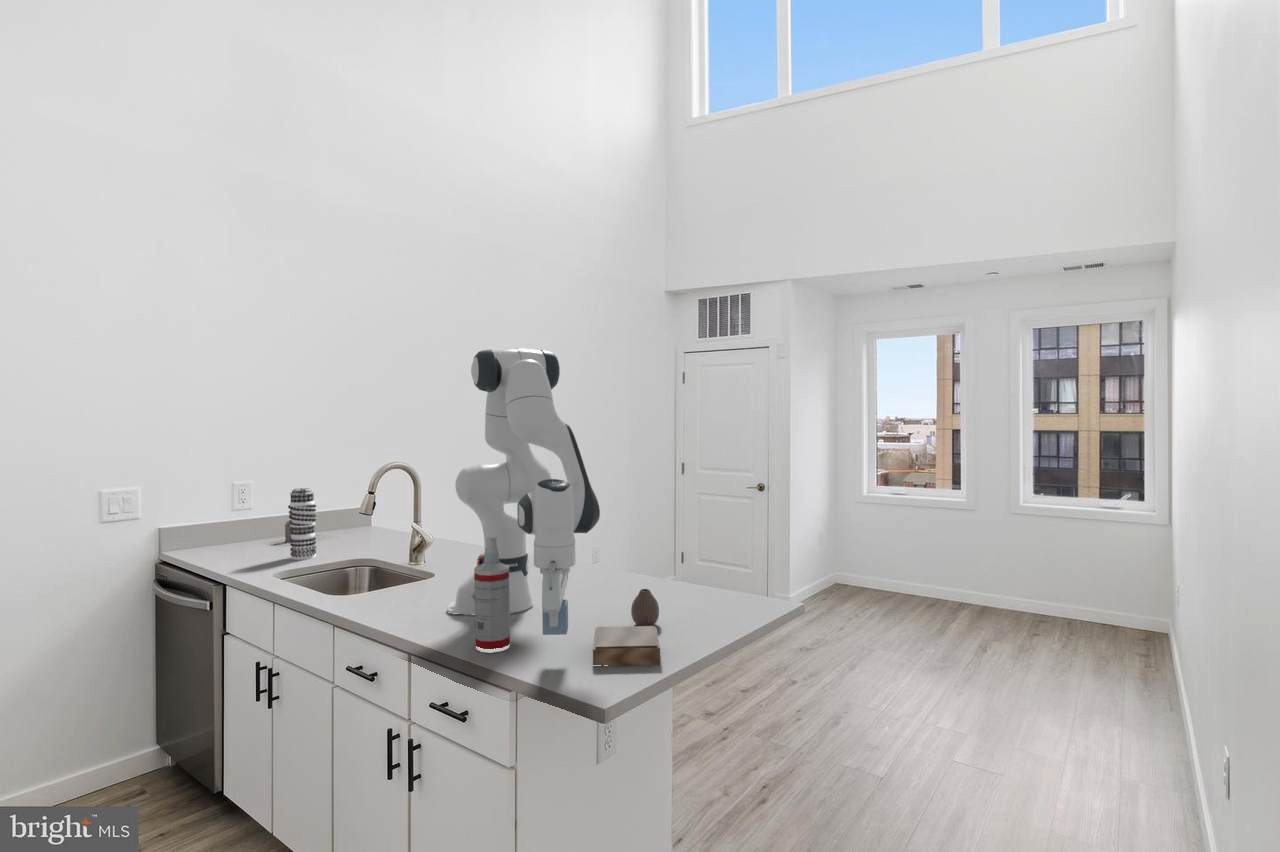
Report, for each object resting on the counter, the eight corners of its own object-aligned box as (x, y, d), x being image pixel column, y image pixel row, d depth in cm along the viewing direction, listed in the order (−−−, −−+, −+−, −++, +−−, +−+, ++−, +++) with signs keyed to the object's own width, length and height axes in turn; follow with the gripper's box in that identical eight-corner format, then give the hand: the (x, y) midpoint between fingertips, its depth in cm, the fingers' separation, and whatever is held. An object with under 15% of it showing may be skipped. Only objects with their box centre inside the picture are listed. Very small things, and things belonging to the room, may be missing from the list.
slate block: (542, 634, 147) (542, 606, 147) (545, 627, 152) (544, 599, 152) (566, 634, 148) (566, 606, 147) (568, 626, 153) (567, 599, 152)
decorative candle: (303, 560, 250) (301, 490, 249) (283, 559, 253) (281, 489, 252) (323, 555, 258) (321, 487, 257) (303, 553, 261) (302, 487, 261)
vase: (639, 631, 169) (639, 595, 169) (626, 623, 175) (626, 588, 175) (664, 626, 172) (664, 591, 172) (650, 619, 178) (650, 585, 178)
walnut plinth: (593, 666, 146) (592, 647, 146) (595, 643, 160) (595, 626, 160) (660, 665, 147) (660, 646, 147) (656, 642, 161) (656, 625, 161)
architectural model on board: (290, 544, 283) (289, 520, 283) (285, 543, 285) (284, 519, 284) (315, 539, 293) (314, 516, 292) (310, 538, 294) (310, 515, 294)
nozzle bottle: (478, 655, 154) (476, 541, 153) (472, 644, 160) (470, 536, 160) (514, 650, 157) (512, 538, 156) (506, 639, 163) (504, 533, 163)
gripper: (566, 568, 139) (566, 637, 140) (572, 546, 160) (573, 606, 160) (534, 568, 139) (535, 637, 139) (544, 546, 159) (545, 607, 160)
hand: (555, 620), depth 150 cm, fingers closed on slate block, 5 cm apart
